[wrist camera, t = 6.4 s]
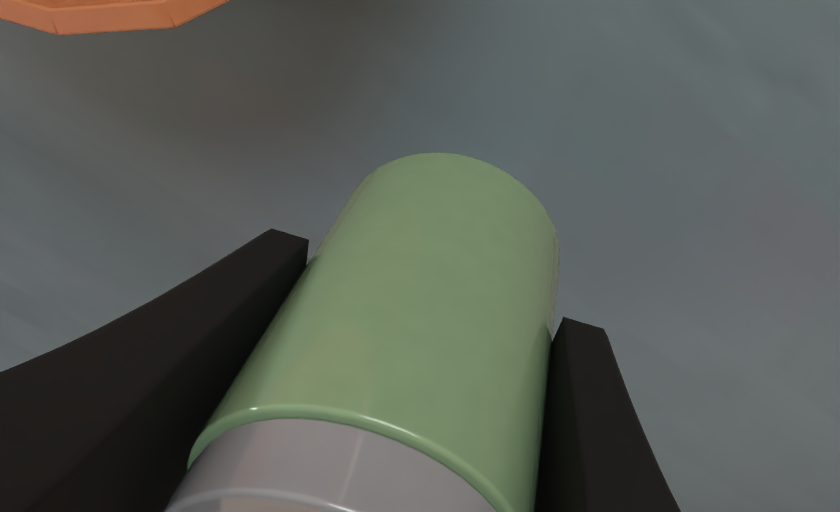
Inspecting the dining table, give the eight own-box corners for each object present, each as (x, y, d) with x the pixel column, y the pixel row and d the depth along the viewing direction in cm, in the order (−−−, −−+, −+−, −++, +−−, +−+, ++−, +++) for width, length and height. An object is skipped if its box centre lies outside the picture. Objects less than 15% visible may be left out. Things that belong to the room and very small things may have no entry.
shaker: (522, 359, 13) (465, 741, 8) (331, 300, 13) (151, 630, 8) (593, 190, 10) (581, 584, 5) (356, 121, 11) (122, 431, 5)
